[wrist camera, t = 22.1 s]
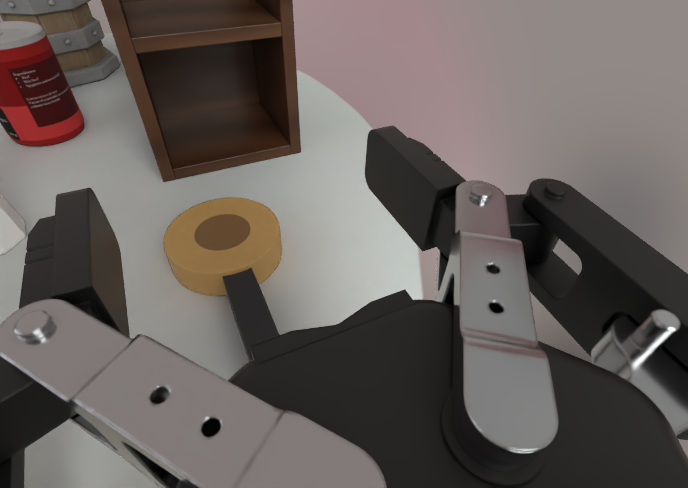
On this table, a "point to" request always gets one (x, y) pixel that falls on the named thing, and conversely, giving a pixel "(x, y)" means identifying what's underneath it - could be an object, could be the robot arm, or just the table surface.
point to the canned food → (34, 88)
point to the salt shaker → (10, 227)
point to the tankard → (67, 36)
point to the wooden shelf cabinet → (210, 79)
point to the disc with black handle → (229, 258)
